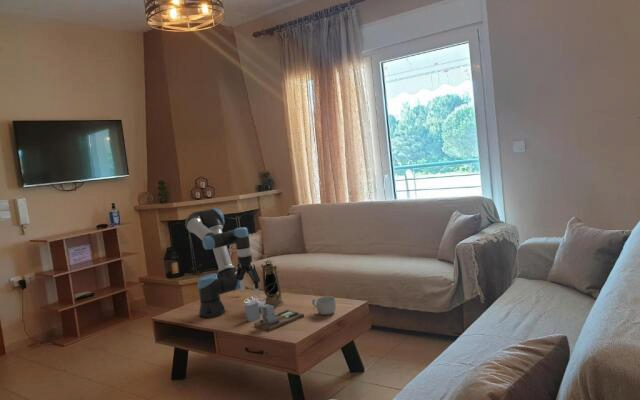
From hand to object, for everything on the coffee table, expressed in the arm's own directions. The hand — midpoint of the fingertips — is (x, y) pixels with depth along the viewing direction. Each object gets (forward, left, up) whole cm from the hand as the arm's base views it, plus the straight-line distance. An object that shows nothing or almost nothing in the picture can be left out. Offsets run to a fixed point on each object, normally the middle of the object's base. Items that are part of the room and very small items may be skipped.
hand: (250, 292), depth 261 cm
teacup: (+30, +27, -15) cm, 43 cm away
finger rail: (+17, +6, -15) cm, 23 cm away
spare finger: (0, 0, -15) cm, 15 cm away
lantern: (-10, +22, -15) cm, 29 cm away
